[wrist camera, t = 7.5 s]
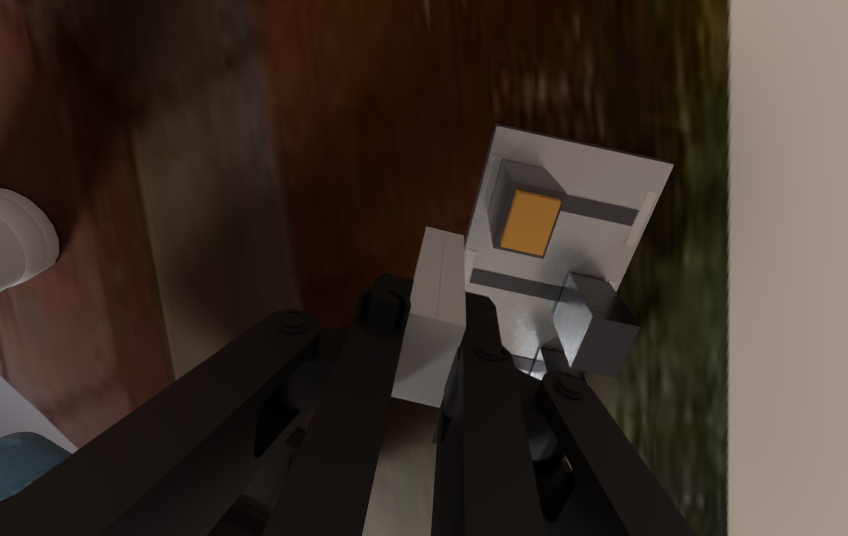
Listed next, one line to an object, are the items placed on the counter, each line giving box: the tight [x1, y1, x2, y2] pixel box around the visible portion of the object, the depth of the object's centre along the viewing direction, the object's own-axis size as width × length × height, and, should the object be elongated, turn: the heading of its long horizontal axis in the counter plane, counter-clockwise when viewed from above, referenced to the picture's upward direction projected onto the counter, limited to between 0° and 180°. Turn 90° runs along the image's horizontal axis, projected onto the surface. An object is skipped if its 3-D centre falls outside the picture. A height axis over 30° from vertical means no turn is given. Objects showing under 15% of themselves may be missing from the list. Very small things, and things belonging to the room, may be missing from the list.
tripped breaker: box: [488, 160, 567, 259], centre depth 26 cm, size 3×4×7 cm
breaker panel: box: [464, 123, 674, 384], centre depth 30 cm, size 12×22×8 cm, turn 169°
